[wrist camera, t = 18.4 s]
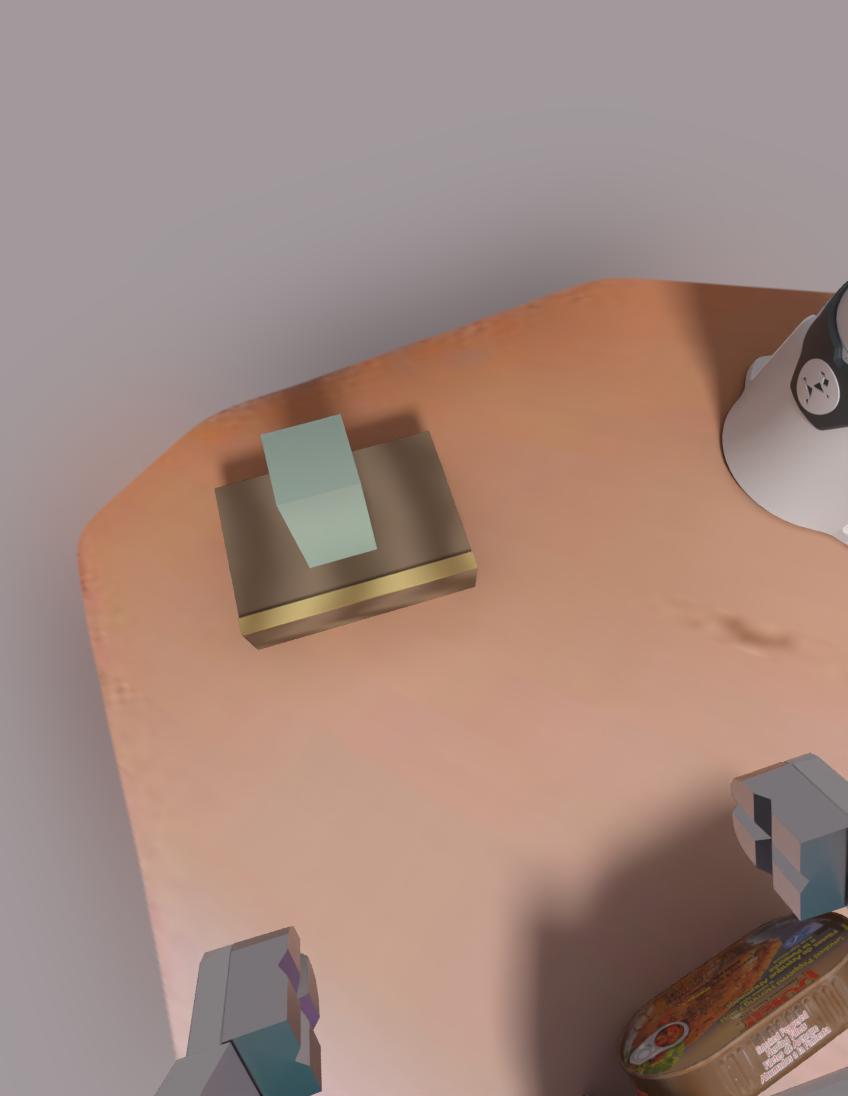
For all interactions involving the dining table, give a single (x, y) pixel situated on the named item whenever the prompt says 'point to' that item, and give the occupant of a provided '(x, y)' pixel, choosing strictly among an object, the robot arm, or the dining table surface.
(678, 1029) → the tin
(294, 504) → the block
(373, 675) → the dining table surface
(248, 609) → the block
